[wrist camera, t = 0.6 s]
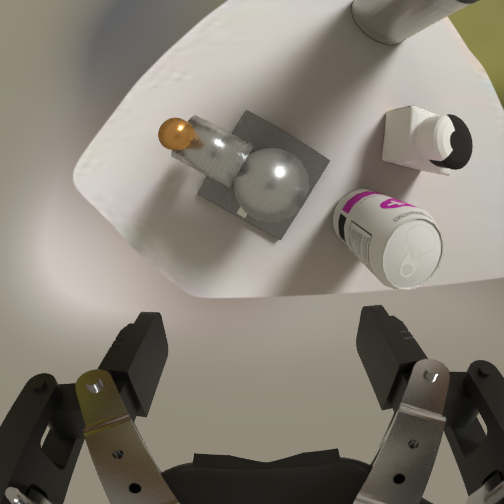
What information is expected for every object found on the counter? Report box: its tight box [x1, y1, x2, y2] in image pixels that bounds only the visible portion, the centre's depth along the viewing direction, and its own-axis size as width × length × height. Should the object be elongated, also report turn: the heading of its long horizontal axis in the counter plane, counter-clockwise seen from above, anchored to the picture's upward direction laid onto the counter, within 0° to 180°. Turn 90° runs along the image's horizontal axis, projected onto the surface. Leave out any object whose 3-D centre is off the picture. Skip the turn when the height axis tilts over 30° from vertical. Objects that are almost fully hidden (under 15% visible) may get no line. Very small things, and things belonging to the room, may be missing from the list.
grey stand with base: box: [198, 110, 330, 240], centre depth 32 cm, size 12×12×8 cm
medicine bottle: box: [382, 106, 472, 176], centre depth 29 cm, size 7×7×12 cm
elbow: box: [158, 115, 309, 222], centre depth 26 cm, size 14×6×9 cm, turn 60°
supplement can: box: [333, 189, 444, 290], centre depth 31 cm, size 8×8×15 cm
